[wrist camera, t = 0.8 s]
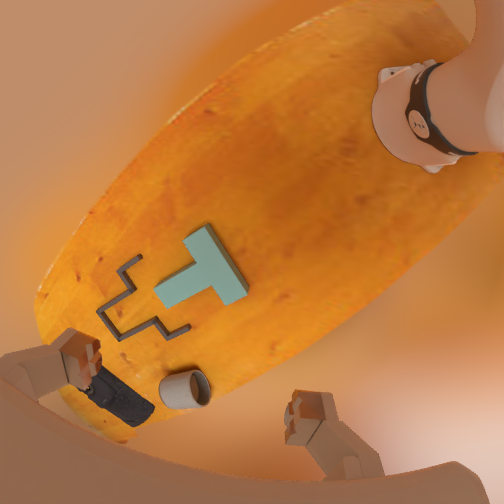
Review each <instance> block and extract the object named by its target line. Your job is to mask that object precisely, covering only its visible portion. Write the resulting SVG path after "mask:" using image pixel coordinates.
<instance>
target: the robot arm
mask: <svg viewBox="0 0 504 504" xmlns="http://www.w3.org/2000/svg"><path fill="white" fill-rule="evenodd" d="M474 2H475V7H476V29H475V34H474V37H473V40H472V42H471V43H470V45H469V46H468V47H467V48H466V49H465V50H464V51H463V52H461V53H460V54H459V55H457V56H456V57H454V58H452V59H451V60H449V61H447V62H446V63H436V61H435V60H434V59H430V60H426V61H424V62H423V65H421V64H420V63H415V64H413V65H410V66H399V67H390V68H384V69H382V70H380V71H379V73H378V85H379V86H378V89H377V92H376V94H375V96H374V99H373V103H372V119H373V124H374V127H375V130H376V133H377V135H378V137H379V139H380V140H381V142H382V143H383V145H384V146H385V147H386V148H387V149H388V150H389V151H390V152H391V153H392V154H393V155H394V156H396V157H397V158H399V159H400V160H402V161H405V162H408V163H412V164H416V165H419V166H421V167H422V168H423V169H424V170H426V171H427V172H429V173H431V174H433V173H437V172H438V171H439V170H440V169H441V168H442V167H443V166H444V165H453V164H455V163H456V161H457V160H458V159H459V158H460V157H461V156H470V155H474V154H477V153H479V152H504V0H474ZM391 73H392V74H393V75H391ZM100 348H101V346H100V341H99V340H98V339H96V338H94V337H91V336H89V335H87V334H85V333H82V332H80V331H77V330H75V329H73V328H68V329H66V330H65V331H64V332H63V333H62V334H61V335H60V336H59V337H58V338H57V339H56V340H55V341H54V342H52V343H51V344H50V345H47V344H46V345H42V346H38V347H34V348H30V349H25V350H21V351H16V352H12V353H7V354H4V355H3V356H2V357H1V358H0V504H490V503H489V500H488V497H487V494H486V492H485V489H484V486H483V484H482V482H481V480H480V478H479V477H478V475H476V474H475V473H474V472H472V471H471V470H470V469H468V468H467V467H465V466H463V465H462V464H460V463H458V462H456V461H451V462H447V463H444V464H440V465H436V466H432V467H428V468H424V469H420V470H415V471H410V472H405V473H400V474H395V475H388V476H385V474H384V470H383V467H382V463H381V460H380V457H379V454H378V453H377V452H376V451H375V450H374V449H373V448H371V447H370V446H369V445H368V444H367V443H366V442H365V441H363V440H362V439H361V438H360V437H359V436H358V435H357V434H356V433H354V432H353V431H352V430H351V429H350V428H349V427H348V426H347V425H346V424H345V423H343V421H339V419H338V415H337V411H336V407H335V403H334V399H333V395H332V394H331V393H328V392H314V391H305V390H295V391H294V392H293V394H292V401H291V402H289V403H288V406H287V408H286V412H285V417H284V422H285V425H286V426H287V429H286V431H285V444H287V445H297V446H306V449H307V450H308V451H309V453H310V454H311V455H312V457H313V458H314V459H315V461H316V462H317V464H318V465H319V466H320V467H321V469H322V470H323V471H324V473H325V474H326V475H327V476H326V477H325V478H324V479H323V480H322V481H285V480H271V479H260V478H251V477H243V476H236V475H229V474H224V473H218V472H213V471H208V470H203V469H198V468H194V467H189V466H186V465H182V464H178V463H174V462H171V461H167V460H164V459H160V458H157V457H153V456H151V455H148V454H145V453H142V452H139V451H136V450H134V449H131V448H128V447H125V446H123V445H120V444H118V443H115V442H113V441H111V440H108V439H106V438H104V437H101V436H99V435H97V434H95V433H92V432H90V431H88V430H86V429H84V428H82V427H80V426H78V425H76V424H74V423H72V422H70V421H68V420H67V419H65V418H63V417H61V416H59V415H57V414H56V413H54V412H52V411H50V410H49V409H47V408H46V407H44V406H42V405H41V404H39V401H38V398H40V397H42V396H44V395H47V394H49V393H51V392H53V391H56V390H58V389H60V388H62V387H64V386H67V385H69V384H71V385H73V386H75V387H77V388H80V389H82V390H84V391H85V390H86V389H87V387H88V386H89V384H90V383H91V382H92V379H91V377H92V376H95V375H97V373H98V372H99V371H100V368H101V365H102V355H101V354H100V352H99V351H98V350H99V349H100Z"/></svg>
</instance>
